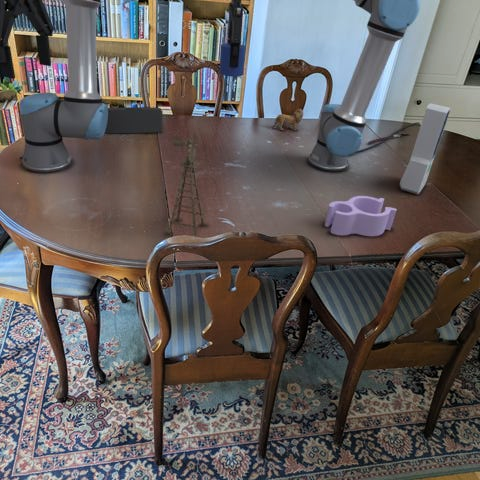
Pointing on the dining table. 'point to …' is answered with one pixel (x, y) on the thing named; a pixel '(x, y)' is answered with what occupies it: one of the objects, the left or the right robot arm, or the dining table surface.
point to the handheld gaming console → (134, 120)
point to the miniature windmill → (187, 165)
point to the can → (226, 60)
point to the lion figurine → (289, 119)
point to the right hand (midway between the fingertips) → (232, 63)
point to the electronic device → (425, 148)
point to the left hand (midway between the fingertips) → (28, 71)
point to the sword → (385, 138)
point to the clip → (359, 216)
